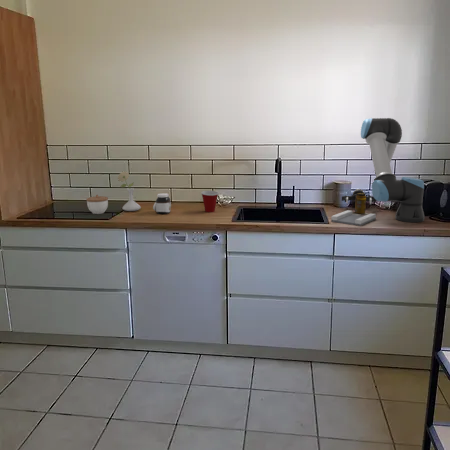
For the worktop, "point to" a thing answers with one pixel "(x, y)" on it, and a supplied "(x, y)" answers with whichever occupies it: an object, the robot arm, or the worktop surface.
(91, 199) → the lidded bowl
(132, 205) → the flower in vase
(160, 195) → the spread jar
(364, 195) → the condiment
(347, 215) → the grey tray with rails
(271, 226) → the worktop surface
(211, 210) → the plastic cup
